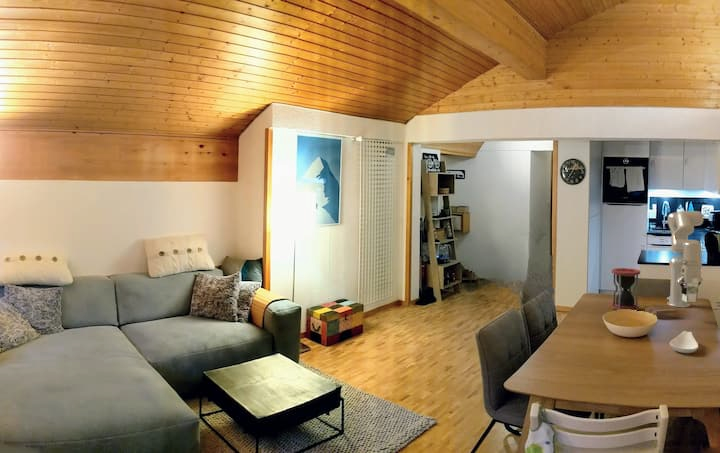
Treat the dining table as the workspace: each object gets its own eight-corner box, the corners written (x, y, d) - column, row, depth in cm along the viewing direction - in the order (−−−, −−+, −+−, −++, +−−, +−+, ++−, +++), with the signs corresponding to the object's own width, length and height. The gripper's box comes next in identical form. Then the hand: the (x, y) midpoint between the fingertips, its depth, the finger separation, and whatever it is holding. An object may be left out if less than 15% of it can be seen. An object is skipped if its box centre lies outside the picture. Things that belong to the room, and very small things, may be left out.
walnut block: (644, 314, 323) (644, 306, 322) (663, 313, 323) (663, 305, 323) (656, 319, 311) (656, 311, 310) (676, 318, 311) (676, 310, 311)
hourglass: (644, 309, 334) (645, 270, 331) (631, 313, 324) (632, 273, 322) (618, 304, 346) (619, 267, 344) (606, 308, 337) (606, 270, 335)
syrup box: (691, 299, 309) (692, 275, 307) (697, 302, 303) (698, 277, 301) (681, 300, 309) (682, 275, 308) (686, 302, 304) (687, 278, 302)
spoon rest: (696, 357, 246) (697, 342, 245) (667, 353, 253) (668, 338, 252) (701, 344, 265) (702, 330, 264) (674, 340, 272) (675, 326, 271)
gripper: (682, 265, 299) (681, 296, 301) (709, 263, 301) (708, 294, 303) (672, 263, 306) (671, 293, 308) (698, 261, 309) (697, 291, 311)
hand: (689, 293), depth 306 cm, fingers closed on syrup box, 6 cm apart
